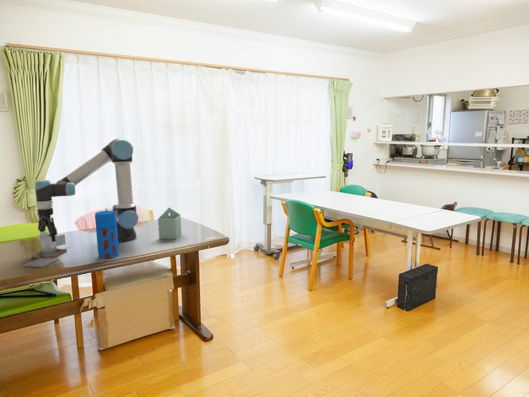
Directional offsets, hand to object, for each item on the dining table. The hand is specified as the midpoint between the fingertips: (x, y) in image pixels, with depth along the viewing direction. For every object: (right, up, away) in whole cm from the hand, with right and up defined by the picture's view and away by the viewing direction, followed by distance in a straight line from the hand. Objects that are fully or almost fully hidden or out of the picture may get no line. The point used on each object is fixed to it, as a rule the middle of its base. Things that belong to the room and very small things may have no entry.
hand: (48, 244), depth 213 cm
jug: (+1, -6, +2) cm, 6 cm away
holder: (0, -6, +1) cm, 6 cm away
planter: (+62, 0, +36) cm, 72 cm away
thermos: (+34, -6, -1) cm, 35 cm away
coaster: (+3, -8, -12) cm, 15 cm away
